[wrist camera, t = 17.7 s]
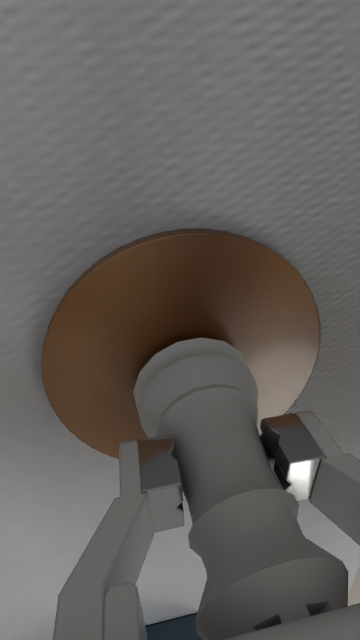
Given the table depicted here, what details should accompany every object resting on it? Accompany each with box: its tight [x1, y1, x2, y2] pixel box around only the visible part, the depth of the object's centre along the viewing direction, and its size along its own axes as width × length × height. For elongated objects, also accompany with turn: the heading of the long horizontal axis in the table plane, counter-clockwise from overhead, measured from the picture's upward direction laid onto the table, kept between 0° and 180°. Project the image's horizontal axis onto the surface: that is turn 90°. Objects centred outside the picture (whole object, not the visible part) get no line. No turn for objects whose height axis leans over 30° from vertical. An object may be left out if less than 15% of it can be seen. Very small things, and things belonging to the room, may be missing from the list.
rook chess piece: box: [133, 337, 348, 640], centre depth 9 cm, size 4×4×8 cm
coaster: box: [41, 229, 320, 459], centre depth 13 cm, size 11×11×1 cm
